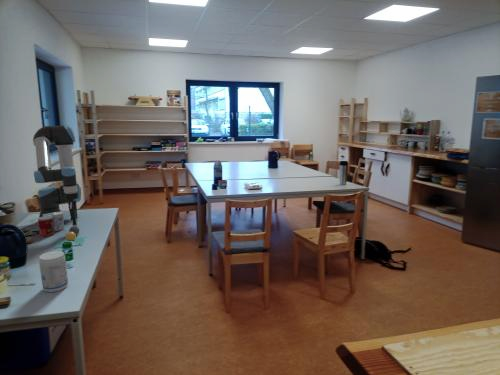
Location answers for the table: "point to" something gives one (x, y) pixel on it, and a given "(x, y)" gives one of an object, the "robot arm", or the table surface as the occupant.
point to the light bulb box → (57, 220)
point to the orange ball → (70, 236)
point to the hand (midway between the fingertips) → (75, 229)
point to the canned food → (46, 226)
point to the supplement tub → (53, 271)
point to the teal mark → (77, 241)
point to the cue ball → (74, 230)
